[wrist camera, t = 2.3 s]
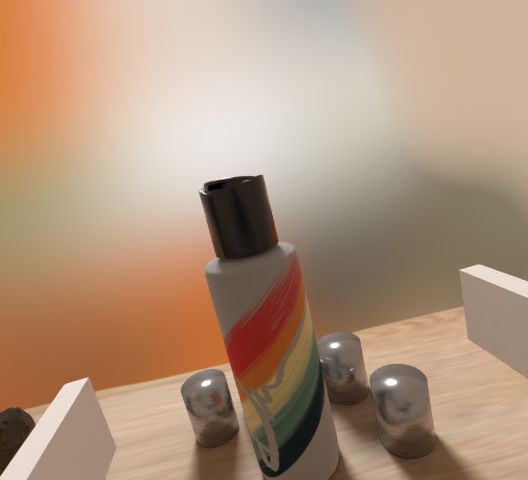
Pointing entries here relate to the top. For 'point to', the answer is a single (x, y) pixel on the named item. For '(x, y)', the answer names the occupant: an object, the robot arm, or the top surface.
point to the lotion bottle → (268, 333)
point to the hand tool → (13, 433)
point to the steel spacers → (339, 391)
